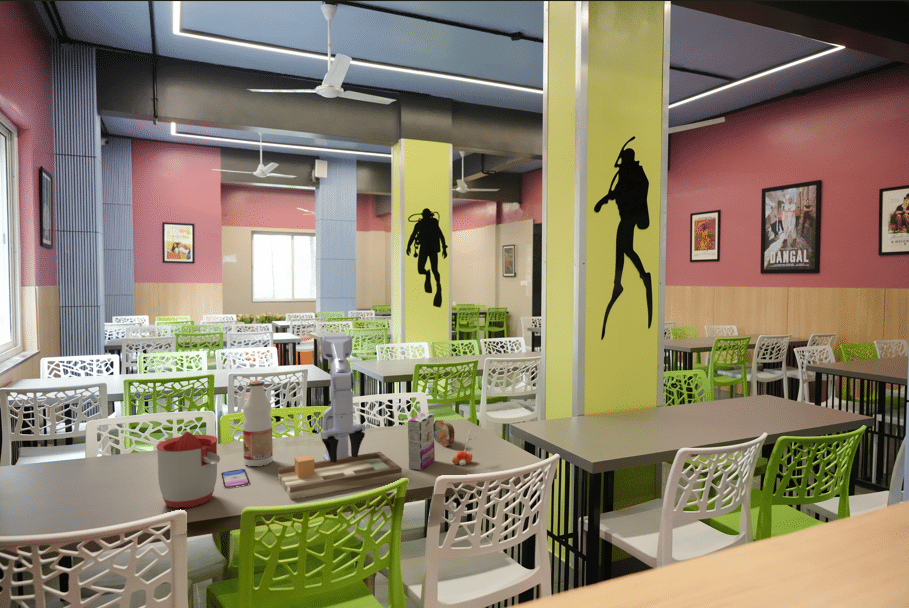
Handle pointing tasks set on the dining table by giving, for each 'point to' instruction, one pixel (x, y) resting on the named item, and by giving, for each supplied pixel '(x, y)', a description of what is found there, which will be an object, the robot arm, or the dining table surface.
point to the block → (304, 466)
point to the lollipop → (463, 454)
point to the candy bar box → (421, 441)
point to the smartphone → (235, 478)
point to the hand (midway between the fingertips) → (344, 459)
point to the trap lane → (340, 475)
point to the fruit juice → (257, 427)
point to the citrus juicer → (187, 469)
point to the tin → (444, 433)
